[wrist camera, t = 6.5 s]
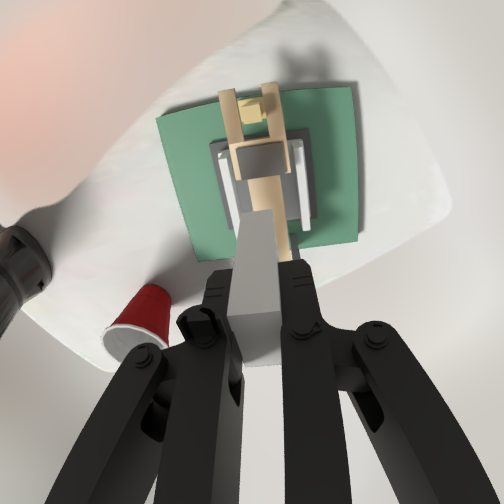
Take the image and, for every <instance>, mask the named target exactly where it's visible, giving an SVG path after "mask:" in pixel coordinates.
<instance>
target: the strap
mask: <svg viewBox="0 0 504 504" xmlns="http://www.w3.org/2000/svg"><path fill="white" fill-rule="evenodd" d="M261 89H262V94H263V100H264V106H265V111H266V117H267V123H268V129H269V135H270V136H269V137H262V138H256V139H250V140H244V134H243V129H242V124H241V119H240V114H239V109H238V103H237V98H236V93H235V88H233V89H228V90H223V91H218V96H219V101H220V106H221V111H222V115H223V120H224V125H225V130H226V135H227V140H228V144H229V149H230V154H231V159H232V164H233V168H234V173H235V178H236V180H248V185H249V191H250V196H251V201H252V206H253V212H254V211H261V210H268V209H272V211H273V217H274V224H275V230H276V237H277V244H278V251H279V259H280V262H283V261H291V258H290V249H289V241H288V232H287V224H286V216H285V209H284V201H283V194H282V187H281V180H280V175H284V174H285V173H291V169H290V161H289V154H288V147H287V140H286V133H285V126H284V120H283V114H282V108H281V102H280V96H279V90H278V84H277V82H270V83H263V84H261Z"/></svg>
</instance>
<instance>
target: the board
mask: <svg viewBox="0 0 504 504" xmlns="http://www.w3.org/2000/svg"><path fill="white" fill-rule="evenodd" d="M279 96H280V102H281V108H282V114H283V120H284V126H285V133H286V140H287V147H288V154H289V161H290V169H291V173H285V174H284V175H280V180H281V187H282V194H283V201H284V209H285V216H286V224H287V232H288V241H289V249H290V250H291V252H292V259H293V260H298V259H301V258H300V253H299V249H303V248H311V247H318V246H326V245H334V244H342V243H349V242H357V241H358V162H357V143H356V129H355V117H354V107H353V98H352V90H351V87H334V88H315V89H302V90H291V91H282V92H279ZM237 103H238V109H239V114H240V119H241V124H242V129H243V134H244V140H250V139H256V138H262V137H269V136H270V135H269V129H268V123H267V117H266V111H265V106H264V100H263V94H259V95H253V96H246V97H241V98H237ZM156 122H157V126H158V129H159V133H160V137H161V141H162V145H163V148H164V152H165V156H166V159H167V163H168V167H169V170H170V174H171V177H172V181H173V184H174V188H175V191H176V194H177V198H178V201H179V204H180V208H181V211H182V214H183V217H184V220H185V224H186V227H187V230H188V233H189V236H190V239H191V242H192V245H193V248H194V251H195V254H196V257H197V260H198V262H201V261H209V260H217V259H224V258H232V257H235V251H236V244H237V237H238V230H239V223H240V216H241V213H247V212H253V206H252V201H251V196H250V191H249V185H248V180H236V178H235V173H234V168H233V164H232V159H231V154H230V149H229V144H228V140H227V135H226V130H225V125H224V120H223V115H222V111H221V106H220V102H215V103H211V104H206V105H202V106H198V107H194V108H190V109H186V110H182V111H178V112H175V113H171V114H168V115H164V116H161V117H158V118H156Z"/></svg>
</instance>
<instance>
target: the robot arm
mask: <svg viewBox="0 0 504 504" xmlns="http://www.w3.org/2000/svg"><path fill="white" fill-rule="evenodd" d="M50 281H51V269H50V265H49V262H48V260H47V257H46V255H45V253H44V251H43V250H42V248H41V247H40V245H39V244H38V243H37V241H36V240H35V239H34V238H33V237H32V236H31V235H30V234H29V233H28V232H27V231H25V230H24V229H22V228H20V227H17V226H10V227H8V228H7V229H6V230H4V231H3V232H2V233H1V234H0V339H1V337H2V335H3V334H4V332H5V331H6V329H7V327H8V326H9V324H10V323H11V321H12V320H13V318H14V316H15V315H16V314H17V313H18V311H19V310H20V308H21V307H22V305H23V304H24V303H26V302H27V301H29V300H30V299H32V298H34V297H35V296H37V295H38V294H40V293H42V292H43V291H44V290H45V288H46V287H47V286H48V284H49V283H50ZM205 289H206V291H205V292H204V298H203V301H202V304H201V305H196V306H192V307H190V308H188V309H186V310H185V311H184V312H183V313H181V314H180V315H179V317H178V319H177V321H176V324H177V325H178V327H179V329H180V331H181V333H182V335H183V337H184V339H185V341H184V342H183V343H181V344H178V345H175V346H172V347H169V348H165V349H162V350H161V349H160V348H159V346H158V345H156V344H154V343H148V342H145V343H142V344H138V345H137V346H135V347H134V348H132V349H131V350H130V352H129V353H128V354H127V355H126V357H125V359H124V360H123V362H122V363H121V365H120V367H119V368H118V370H117V372H116V373H115V375H114V376H113V378H112V380H111V381H110V383H109V385H108V387H107V388H106V390H105V391H104V393H103V395H102V396H101V398H100V400H99V401H98V403H97V405H96V407H95V408H94V410H93V412H92V413H91V415H90V417H89V419H88V420H87V422H86V424H85V426H84V428H83V429H82V431H81V433H80V435H79V437H78V438H77V440H76V442H75V444H74V446H73V448H72V450H71V451H70V453H69V455H68V457H67V459H66V461H65V463H64V465H63V467H62V469H61V471H60V473H59V475H58V477H57V479H56V481H55V483H54V485H53V487H52V489H51V491H50V493H49V495H48V497H47V500H46V501H45V504H144V503H145V501H146V499H147V496H148V494H149V492H150V490H151V488H152V486H153V483H154V481H155V479H156V477H157V482H156V489H155V496H154V503H153V504H239V485H240V465H241V444H242V424H243V404H244V384H245V381H244V376H243V373H242V361H243V363H244V366H245V367H259V366H271V365H282V383H283V384H282V385H283V414H284V454H285V455H284V458H285V504H352V498H351V486H350V475H349V465H348V457H347V449H346V441H345V433H344V426H343V419H342V413H341V405H340V399H339V393H338V390H339V391H347V393H348V395H349V397H350V399H351V401H352V404H353V406H354V407H355V410H356V412H357V413H358V416H359V418H360V420H361V422H362V424H363V426H364V428H365V430H366V432H367V435H368V436H369V439H370V441H371V443H372V445H373V447H374V449H375V451H376V453H377V456H378V458H379V460H380V462H381V464H382V466H383V468H384V471H385V473H386V475H387V477H388V479H389V481H390V484H391V486H392V488H393V490H394V492H395V495H396V497H397V499H398V501H399V504H500V501H499V499H498V497H497V495H496V493H495V490H494V488H493V486H492V484H491V482H490V480H489V478H488V476H487V474H486V472H485V470H484V468H483V466H482V464H481V462H480V460H479V459H478V457H477V455H476V453H475V451H474V449H473V447H472V446H471V444H470V442H469V440H468V439H467V437H466V435H465V433H464V432H463V430H462V428H461V427H460V425H459V423H458V422H457V420H456V418H455V417H454V415H453V414H452V412H451V410H450V409H449V407H448V405H447V404H446V402H445V401H444V399H443V398H442V396H441V394H440V393H439V391H438V390H437V389H436V387H435V385H434V384H433V382H432V381H431V379H430V378H429V376H428V375H427V373H426V372H425V371H424V369H423V368H422V366H421V365H420V363H419V362H418V360H417V359H416V358H415V356H414V355H413V353H412V352H411V351H410V349H409V348H408V346H407V345H406V343H405V342H404V341H403V339H402V338H401V337H400V335H399V334H398V333H397V331H396V330H395V329H394V328H393V327H392V326H391V325H389V324H387V323H385V322H382V321H370V322H366V323H364V324H362V325H361V326H359V327H358V328H357V330H356V331H353V330H344V329H339V328H335V327H333V326H331V325H329V324H328V323H327V322H326V321H325V320H324V319H323V318H322V315H321V312H320V307H319V303H318V298H317V294H316V289H315V285H314V280H313V276H312V272H311V267H310V265H309V264H308V263H307V262H306V261H305V260H304V259H298V260H291V261H283V262H280V259H279V251H278V244H277V237H276V230H275V224H274V217H273V211H272V209H268V210H261V211H254V212H247V213H241V216H240V223H239V230H238V237H237V244H236V251H235V258H234V265H233V269H225V270H217V271H214V272H213V273H212V275H211V276H210V277H209V278H208V280H207V284H206V288H205ZM157 474H158V476H157Z"/></svg>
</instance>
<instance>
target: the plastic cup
mask: <svg viewBox="0 0 504 504" xmlns="http://www.w3.org/2000/svg"><path fill="white" fill-rule="evenodd" d="M170 308H171V298H170V295H169V294H168V293H167V292H166V290H164V289H163V288H161V287H159V286H156V285H146V286H144V287H142V288H141V289H140V290H139V291H138V293H137V294H136V295H135V297H133V298H132V299H131V301H130V302H129V303H128V305H127V306H126V307H125V309H124V310H123V311H122V313H121V314H120V315H119V317H118V318H116V320H115V321H114V322H113V323H112V325H110V326H109V327H107V328H106V329H105V330H104V332H103V333H102V335H101V343H102V346H103V348H104V349H105V351H106V352H107V354H108V355H110V356H111V357H112V358H113V359H114V360H116V361H117V362H118V363H120V364H121V363H122V362H123V360H124V359H125V357H126V355H127V354H128V353H129V352H130V350H131V349H132V348H134V347H135V346H137V345H138V344H142V343H145V342H148V343H154V344H156V345H158V346H159V348H160V349H161V350H162V349H165V348H169V340H168V335H169V323H170Z"/></svg>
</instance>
